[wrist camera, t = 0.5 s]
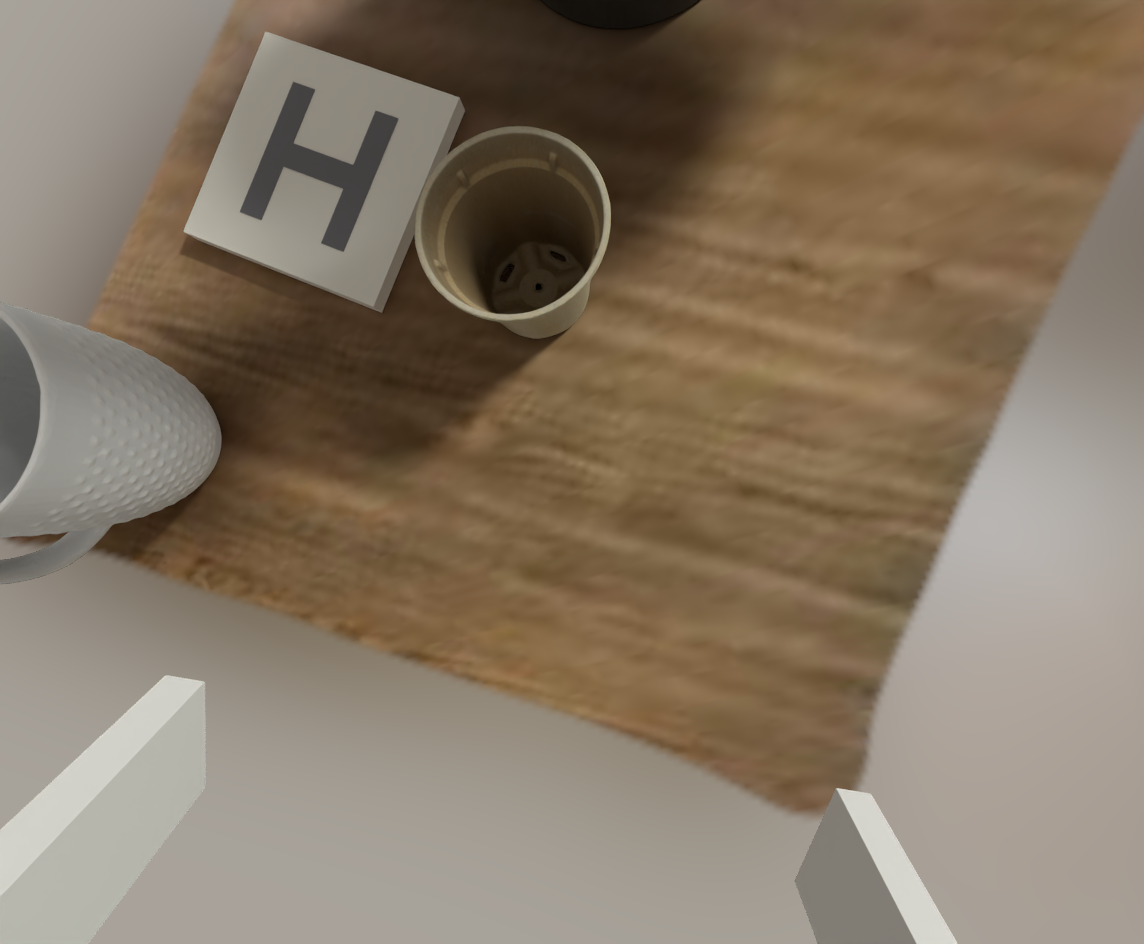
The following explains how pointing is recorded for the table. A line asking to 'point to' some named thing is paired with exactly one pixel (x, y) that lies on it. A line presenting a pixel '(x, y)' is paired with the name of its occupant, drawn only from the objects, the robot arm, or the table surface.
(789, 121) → the table surface
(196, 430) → the mug
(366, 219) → the letter board
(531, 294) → the flower pot
